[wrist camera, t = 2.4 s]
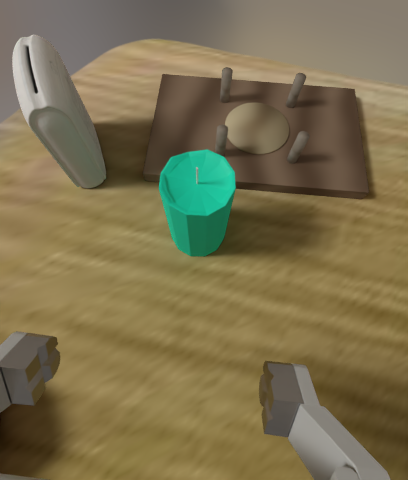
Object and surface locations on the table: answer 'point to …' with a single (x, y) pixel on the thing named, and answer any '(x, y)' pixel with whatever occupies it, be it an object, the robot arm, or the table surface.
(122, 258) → the table surface
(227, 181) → the candle
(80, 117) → the photo printer
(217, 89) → the candle stand
